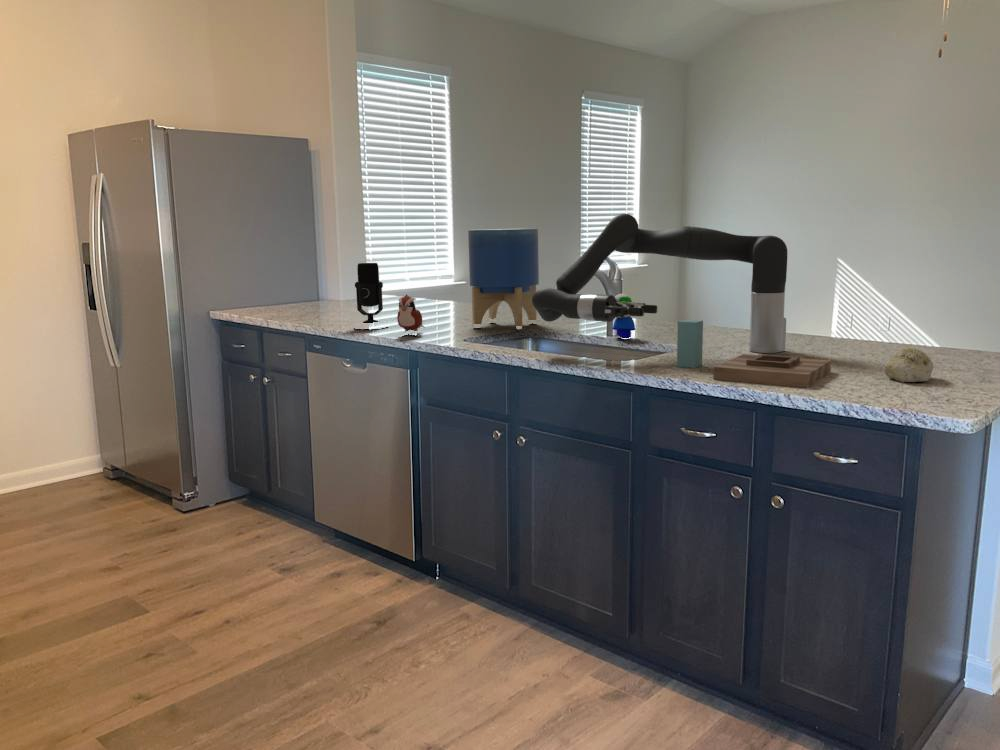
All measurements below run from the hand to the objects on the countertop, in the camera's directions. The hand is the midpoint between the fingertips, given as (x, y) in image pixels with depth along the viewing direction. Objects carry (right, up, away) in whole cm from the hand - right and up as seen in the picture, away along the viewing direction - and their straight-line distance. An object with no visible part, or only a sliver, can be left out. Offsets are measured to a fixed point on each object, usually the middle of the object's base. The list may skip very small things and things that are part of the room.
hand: (650, 310), depth 219 cm
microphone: (-91, +1, +96) cm, 132 cm away
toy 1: (-72, -3, +70) cm, 101 cm away
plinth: (+26, -18, -20) cm, 38 cm away
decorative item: (+56, -19, -28) cm, 65 cm away
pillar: (+10, -15, -4) cm, 18 cm away
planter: (-39, +1, +90) cm, 98 cm away
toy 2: (0, -6, +49) cm, 50 cm away
